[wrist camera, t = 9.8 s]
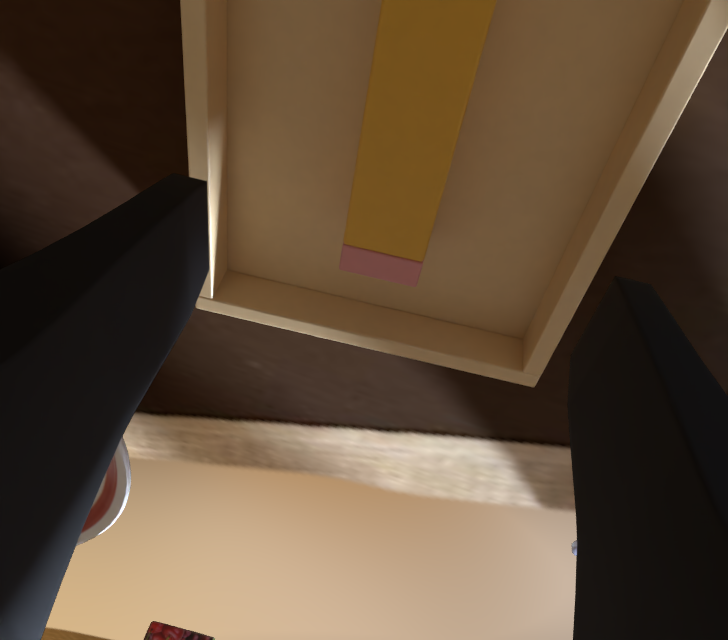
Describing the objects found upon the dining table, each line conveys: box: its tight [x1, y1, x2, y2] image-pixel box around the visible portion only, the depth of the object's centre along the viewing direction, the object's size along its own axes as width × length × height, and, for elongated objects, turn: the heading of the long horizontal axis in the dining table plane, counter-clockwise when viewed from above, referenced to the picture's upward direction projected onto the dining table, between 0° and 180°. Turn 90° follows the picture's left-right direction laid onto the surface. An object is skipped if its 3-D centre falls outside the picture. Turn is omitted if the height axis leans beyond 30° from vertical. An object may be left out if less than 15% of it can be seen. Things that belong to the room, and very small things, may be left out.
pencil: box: [339, 0, 497, 287], centre depth 15 cm, size 10×2×2 cm, turn 171°
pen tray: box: [180, 0, 728, 387], centre depth 16 cm, size 16×11×2 cm
